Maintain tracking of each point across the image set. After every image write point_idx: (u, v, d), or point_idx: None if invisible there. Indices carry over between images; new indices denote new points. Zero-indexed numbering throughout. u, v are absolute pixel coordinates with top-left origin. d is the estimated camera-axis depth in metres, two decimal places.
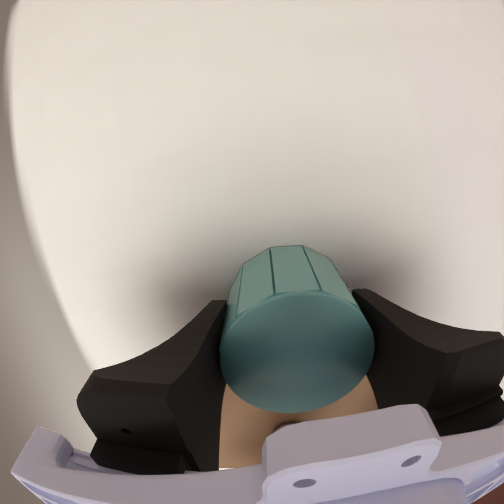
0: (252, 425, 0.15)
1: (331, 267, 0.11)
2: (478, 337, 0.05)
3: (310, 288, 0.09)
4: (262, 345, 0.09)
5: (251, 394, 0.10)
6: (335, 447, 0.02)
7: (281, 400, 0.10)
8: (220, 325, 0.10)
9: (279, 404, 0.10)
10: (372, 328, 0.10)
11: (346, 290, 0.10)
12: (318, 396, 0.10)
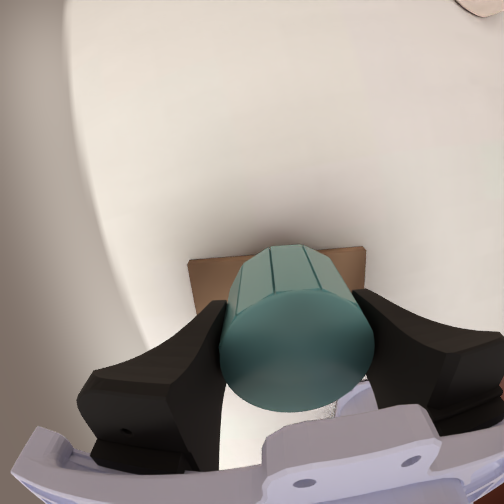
0: None
1: (331, 266, 0.11)
2: (478, 337, 0.05)
3: (310, 287, 0.09)
4: (262, 344, 0.09)
5: (250, 393, 0.10)
6: (335, 447, 0.02)
7: (281, 399, 0.10)
8: (220, 325, 0.10)
9: (279, 403, 0.10)
10: (372, 328, 0.10)
11: (346, 289, 0.10)
12: (318, 395, 0.10)
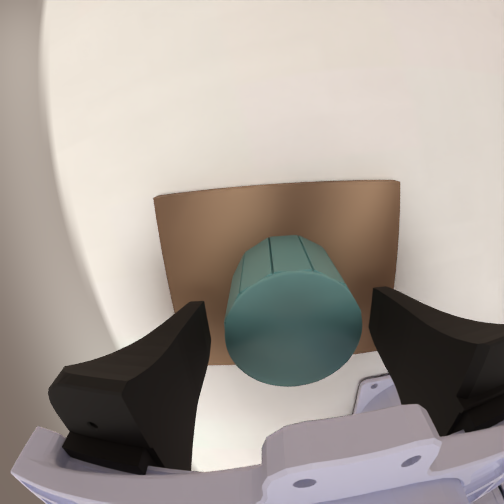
0: None
1: (323, 254, 0.13)
2: (501, 329, 0.05)
3: (304, 268, 0.10)
4: (262, 319, 0.10)
5: (252, 367, 0.11)
6: (335, 447, 0.02)
7: (279, 373, 0.11)
8: (195, 326, 0.10)
9: (277, 377, 0.11)
10: (395, 324, 0.09)
11: (336, 272, 0.11)
12: (313, 370, 0.11)
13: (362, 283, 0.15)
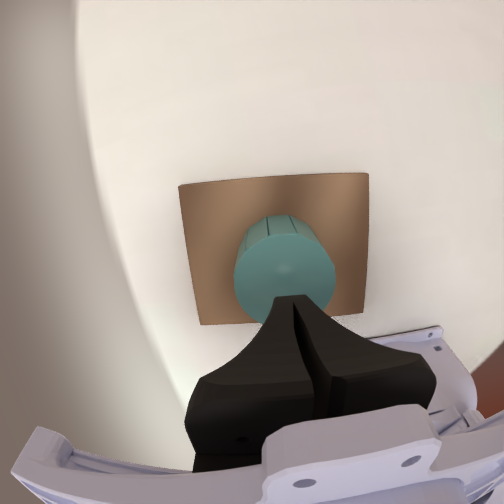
0: None
1: (307, 227, 0.17)
2: (390, 359, 0.05)
3: (290, 232, 0.15)
4: (261, 269, 0.15)
5: (254, 310, 0.15)
6: (335, 447, 0.02)
7: None
8: None
9: None
10: (300, 336, 0.10)
11: (315, 238, 0.15)
12: None
13: (341, 254, 0.19)
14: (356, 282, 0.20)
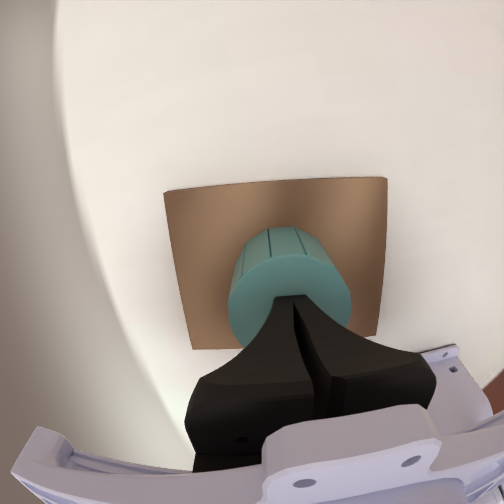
0: None
1: (317, 243, 0.14)
2: (390, 359, 0.05)
3: (298, 253, 0.12)
4: (261, 298, 0.12)
5: None
6: (335, 447, 0.02)
7: None
8: None
9: None
10: (300, 336, 0.10)
11: (327, 257, 0.13)
12: None
13: (353, 271, 0.16)
14: (370, 302, 0.17)
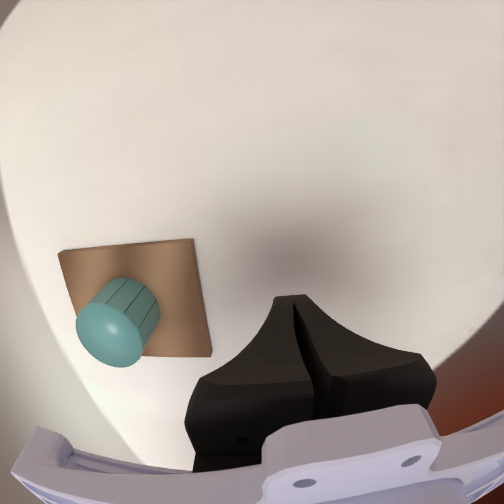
0: None
1: (135, 291, 0.20)
2: (390, 359, 0.05)
3: (103, 302, 0.17)
4: (89, 326, 0.18)
5: (93, 352, 0.18)
6: (335, 447, 0.02)
7: (107, 357, 0.18)
8: None
9: (107, 360, 0.19)
10: (300, 336, 0.10)
11: (127, 304, 0.18)
12: (122, 358, 0.18)
13: (177, 309, 0.22)
14: (197, 332, 0.23)
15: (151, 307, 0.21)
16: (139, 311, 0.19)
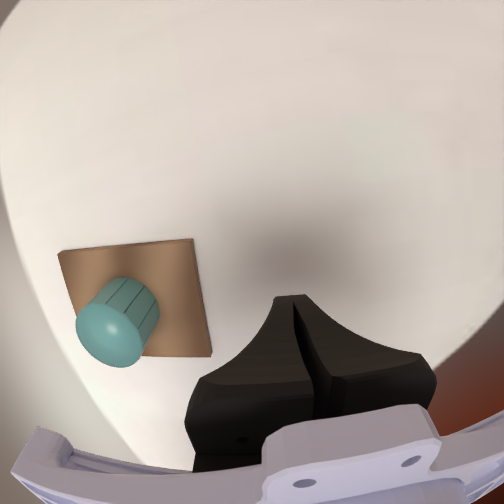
0: None
1: (135, 291, 0.20)
2: (389, 359, 0.05)
3: (103, 302, 0.17)
4: (89, 326, 0.18)
5: (93, 352, 0.18)
6: (335, 446, 0.02)
7: (107, 358, 0.18)
8: None
9: (107, 360, 0.19)
10: (300, 336, 0.10)
11: (127, 305, 0.18)
12: (122, 358, 0.18)
13: (177, 309, 0.22)
14: (196, 332, 0.23)
15: (151, 307, 0.21)
16: (139, 311, 0.19)
